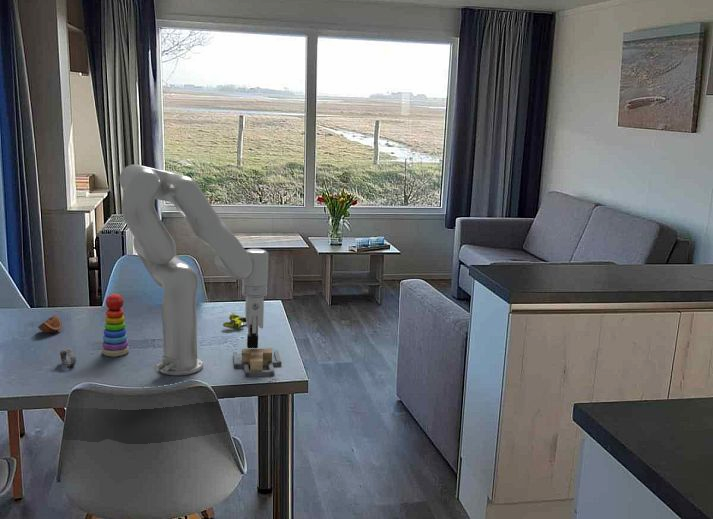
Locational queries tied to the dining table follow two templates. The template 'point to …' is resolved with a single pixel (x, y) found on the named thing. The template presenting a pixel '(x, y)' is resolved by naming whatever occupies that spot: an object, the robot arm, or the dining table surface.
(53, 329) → the fruit slice
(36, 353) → the dining table surface
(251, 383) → the dining table surface
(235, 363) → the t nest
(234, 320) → the toy motorcycle
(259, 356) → the oak t block
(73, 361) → the wristwatch
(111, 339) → the stacking toy
